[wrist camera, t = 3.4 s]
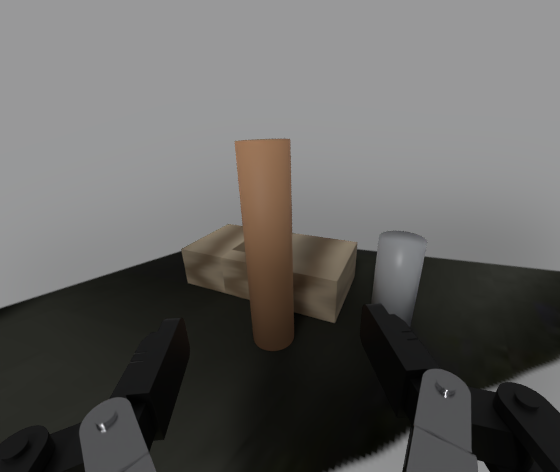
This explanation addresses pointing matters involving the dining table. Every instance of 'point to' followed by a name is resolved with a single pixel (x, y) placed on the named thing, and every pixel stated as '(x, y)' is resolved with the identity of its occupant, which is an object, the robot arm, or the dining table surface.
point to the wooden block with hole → (306, 269)
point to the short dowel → (398, 272)
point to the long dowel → (268, 238)
